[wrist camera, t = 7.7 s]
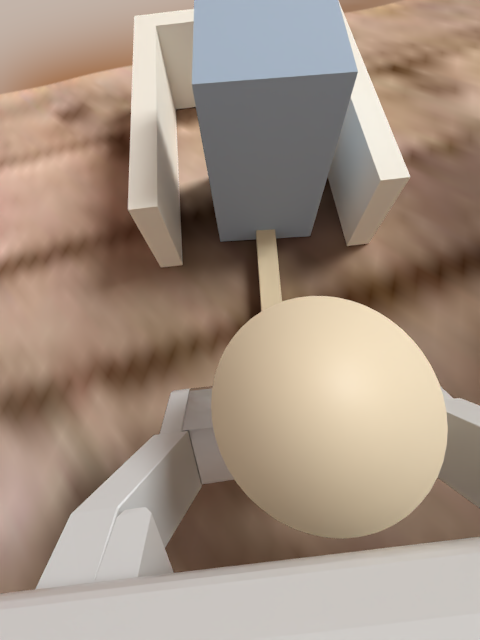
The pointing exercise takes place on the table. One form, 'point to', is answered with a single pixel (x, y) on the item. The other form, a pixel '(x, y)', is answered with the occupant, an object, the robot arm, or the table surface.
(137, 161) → the white u-shaped wall
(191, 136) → the table surface
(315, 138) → the block
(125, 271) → the table surface
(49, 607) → the robot arm
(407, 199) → the table surface
